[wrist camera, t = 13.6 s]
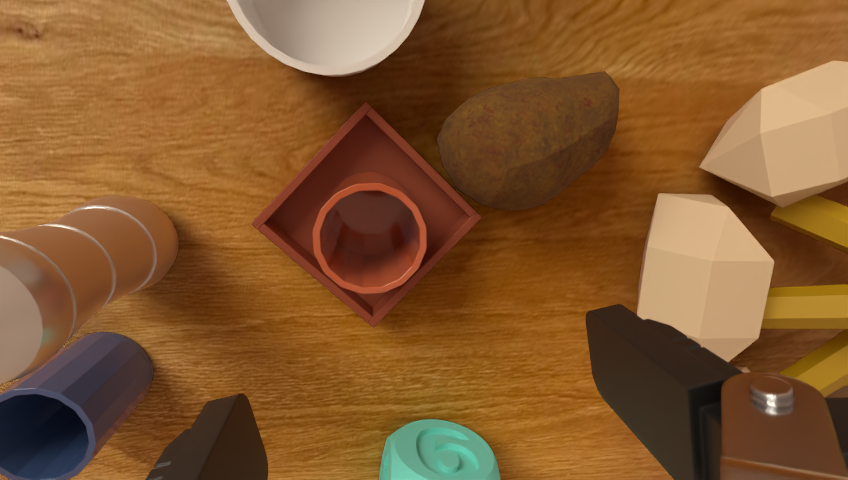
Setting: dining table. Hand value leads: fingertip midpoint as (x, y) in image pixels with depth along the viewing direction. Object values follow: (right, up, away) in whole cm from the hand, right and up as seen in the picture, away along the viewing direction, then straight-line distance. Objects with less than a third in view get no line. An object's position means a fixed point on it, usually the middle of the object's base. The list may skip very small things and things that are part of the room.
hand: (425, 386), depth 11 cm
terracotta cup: (-4, +5, +24) cm, 25 cm away
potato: (+6, +10, +24) cm, 27 cm away
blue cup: (-24, -6, +25) cm, 35 cm away
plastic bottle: (-20, +4, +23) cm, 31 cm away
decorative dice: (0, -15, +30) cm, 33 cm away
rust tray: (-4, +5, +24) cm, 25 cm away
